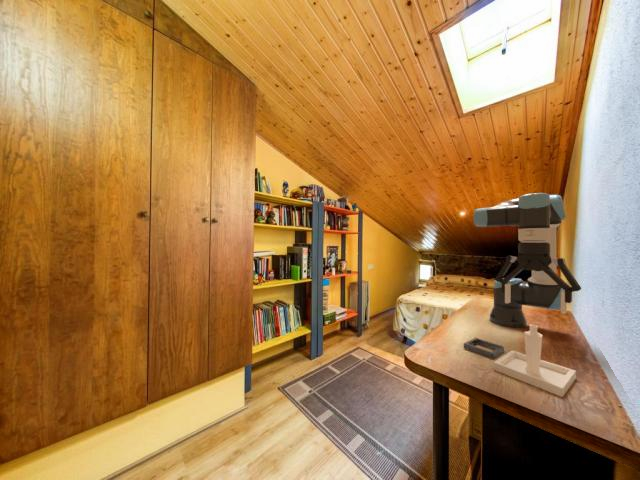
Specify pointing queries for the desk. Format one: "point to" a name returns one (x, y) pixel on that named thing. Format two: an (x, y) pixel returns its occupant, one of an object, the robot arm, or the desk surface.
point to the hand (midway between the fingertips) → (533, 307)
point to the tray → (550, 379)
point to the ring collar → (493, 354)
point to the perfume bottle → (533, 350)
